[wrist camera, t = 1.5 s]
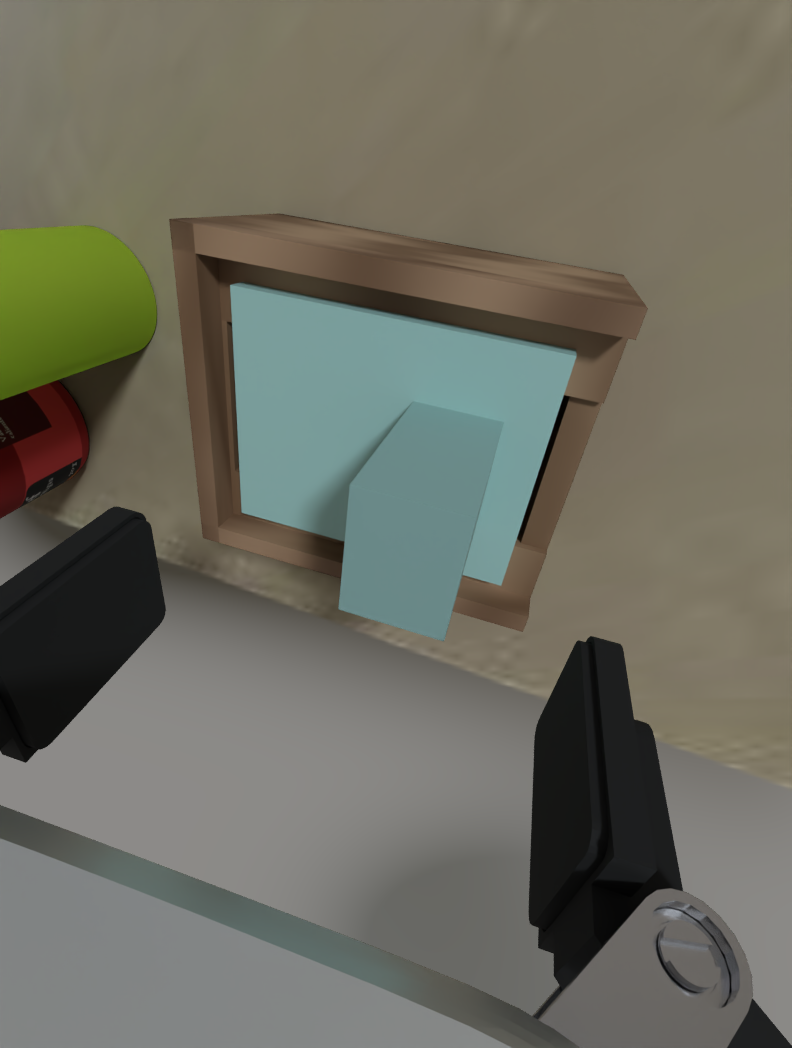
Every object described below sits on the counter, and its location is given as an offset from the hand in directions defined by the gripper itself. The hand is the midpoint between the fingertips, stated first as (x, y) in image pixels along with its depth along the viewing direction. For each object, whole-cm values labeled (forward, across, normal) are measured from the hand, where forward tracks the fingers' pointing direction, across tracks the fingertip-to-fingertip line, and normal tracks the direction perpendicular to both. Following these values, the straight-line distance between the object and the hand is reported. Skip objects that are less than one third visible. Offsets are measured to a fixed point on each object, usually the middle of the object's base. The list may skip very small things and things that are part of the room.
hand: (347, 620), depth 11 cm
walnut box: (+15, +2, 0) cm, 15 cm away
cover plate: (+9, +2, 0) cm, 9 cm away
